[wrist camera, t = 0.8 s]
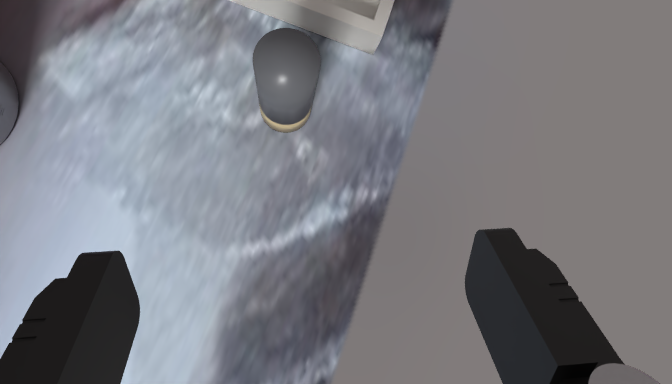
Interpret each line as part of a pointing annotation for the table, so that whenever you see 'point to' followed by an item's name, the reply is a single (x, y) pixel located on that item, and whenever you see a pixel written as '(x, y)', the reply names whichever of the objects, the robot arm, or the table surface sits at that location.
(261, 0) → the walled box
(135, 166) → the table surface
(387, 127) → the table surface
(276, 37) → the dark grey cylinder
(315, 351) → the table surface
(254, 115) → the table surface
